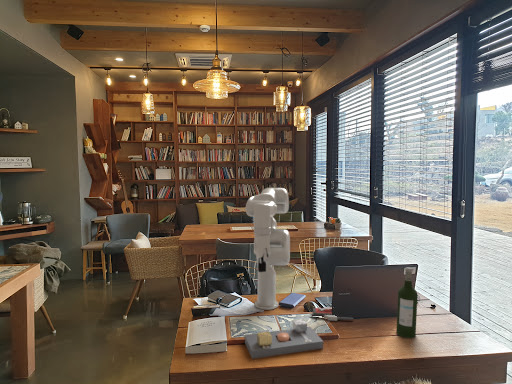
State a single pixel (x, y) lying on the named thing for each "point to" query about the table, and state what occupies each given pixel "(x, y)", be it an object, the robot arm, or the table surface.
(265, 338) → the brass slider
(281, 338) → the terracotta button
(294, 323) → the grey slider
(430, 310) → the table surface
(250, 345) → the grey slotted board
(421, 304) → the table surface
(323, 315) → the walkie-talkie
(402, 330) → the wine bottle
